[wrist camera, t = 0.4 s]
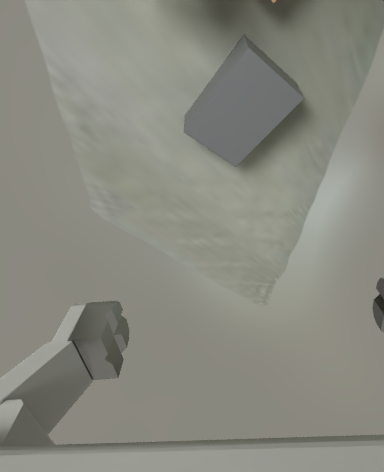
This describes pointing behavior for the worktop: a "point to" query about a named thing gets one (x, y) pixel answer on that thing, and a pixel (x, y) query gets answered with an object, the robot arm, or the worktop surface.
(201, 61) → the worktop surface
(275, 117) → the stand
